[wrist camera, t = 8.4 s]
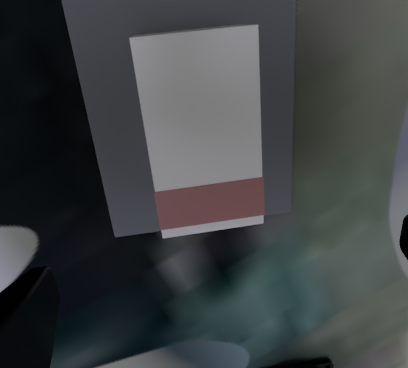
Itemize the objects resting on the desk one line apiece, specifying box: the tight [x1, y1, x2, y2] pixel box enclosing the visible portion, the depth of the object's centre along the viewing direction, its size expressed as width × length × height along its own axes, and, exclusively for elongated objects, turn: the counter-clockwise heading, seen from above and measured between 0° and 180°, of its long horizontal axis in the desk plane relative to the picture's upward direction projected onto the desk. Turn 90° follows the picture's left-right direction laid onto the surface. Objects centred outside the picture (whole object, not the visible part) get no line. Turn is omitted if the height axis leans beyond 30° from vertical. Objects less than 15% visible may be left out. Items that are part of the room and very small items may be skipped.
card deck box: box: [129, 24, 265, 238], centre depth 17 cm, size 5×9×4 cm, turn 5°
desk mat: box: [62, 0, 296, 237], centre depth 19 cm, size 13×11×1 cm
